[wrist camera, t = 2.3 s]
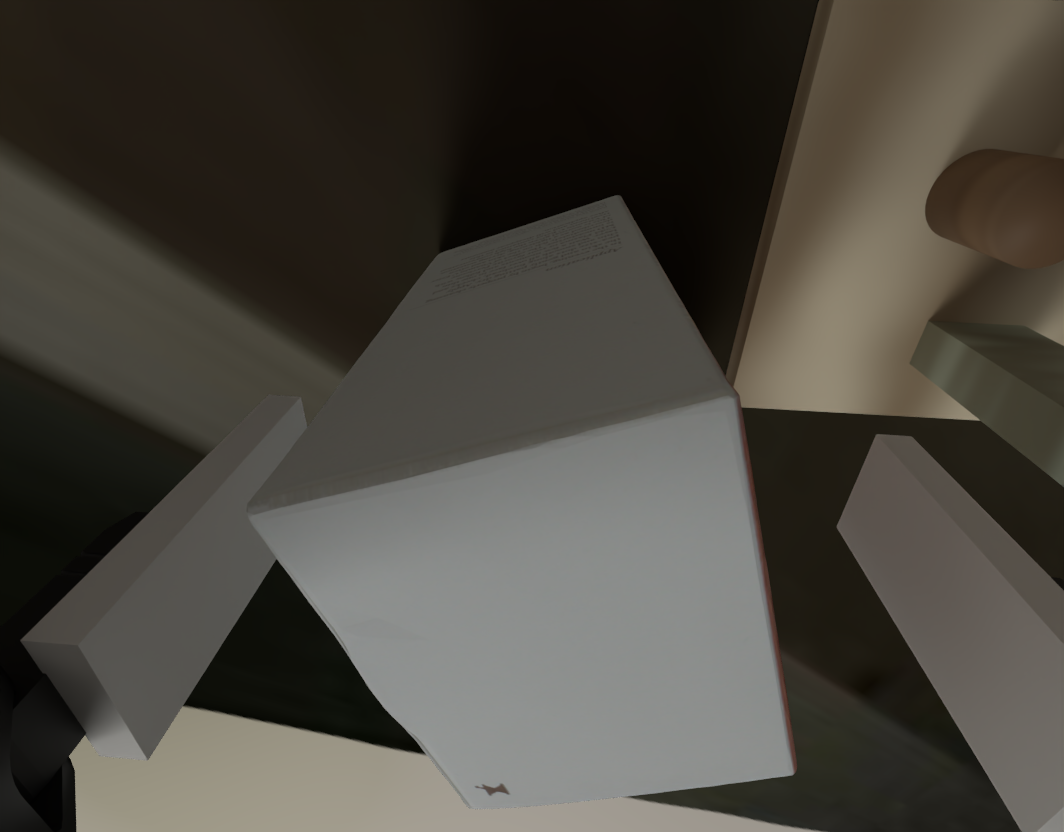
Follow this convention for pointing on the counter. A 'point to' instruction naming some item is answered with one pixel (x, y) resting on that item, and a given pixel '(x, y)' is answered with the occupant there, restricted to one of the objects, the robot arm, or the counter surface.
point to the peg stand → (918, 223)
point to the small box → (544, 527)
